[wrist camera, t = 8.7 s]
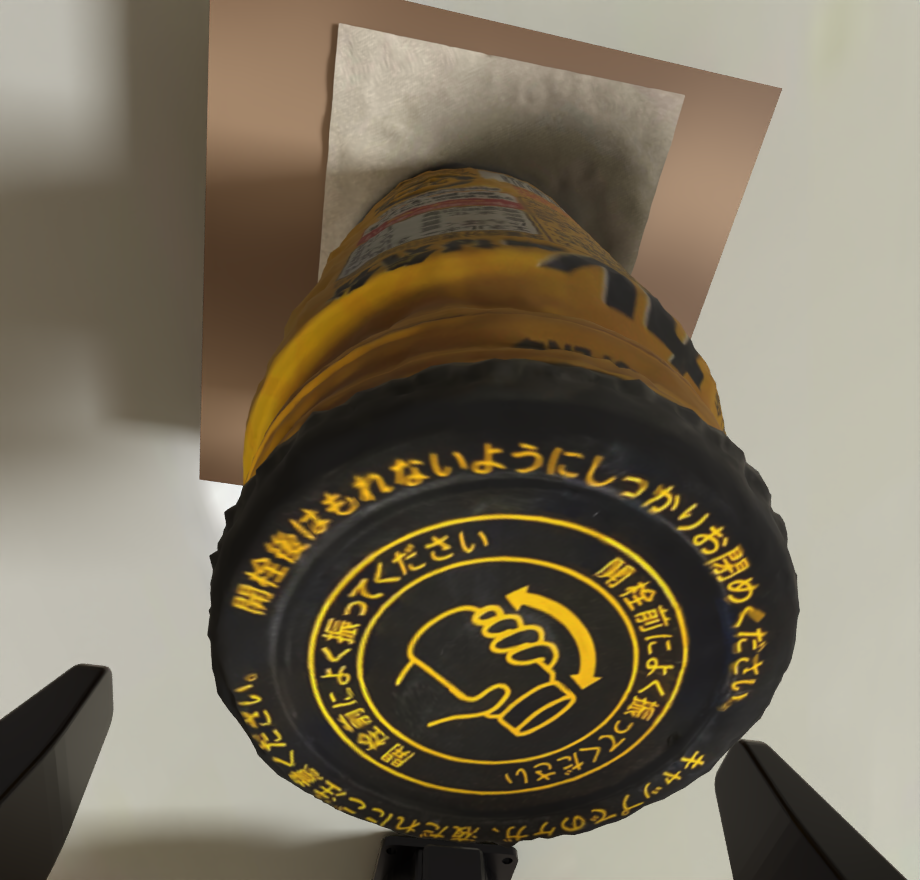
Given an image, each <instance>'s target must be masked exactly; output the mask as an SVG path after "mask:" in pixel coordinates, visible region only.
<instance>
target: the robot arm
mask: <svg viewBox="0 0 920 880" xmlns="http://www.w3.org/2000/svg"><path fill="white" fill-rule="evenodd" d="M112 716H113V686H112V672H111V670H110V668H109V667H106V666H100V665H92V664H78V665H75V666H73V667H72V668H70V669H69V670H68V671H66V672H65V673H64V674H62V675H61V676H59V677H58V678H57V679H55V680H54V681H53V682H51V683H50V684H48V685H47V686H46V687H44V688H43V689H42V690H40V691H39V692H38V693H36V694H35V695H33V696H32V697H31V698H29V699H28V700H27V701H25V702H24V703H23V704H21V705H20V706H18V707H17V708H16V709H14V710H13V711H12V712H10V713H9V714H7V715H6V716H5V717H3V718H2V719H1V720H0V880H46V879H47V878H48V876H49V874H50V872H51V870H52V868H53V866H54V864H55V862H56V860H57V858H58V855H59V853H60V851H61V849H62V847H63V845H64V843H65V840H66V838H67V835H68V833H69V831H70V828H71V826H72V823H73V821H74V818H75V815H76V813H77V810H78V808H79V805H80V802H81V800H82V797H83V795H84V792H85V790H86V787H87V784H88V782H89V779H90V777H91V774H92V771H93V769H94V766H95V764H96V761H97V758H98V756H99V753H100V751H101V748H102V746H103V743H104V740H105V738H106V735H107V733H108V730H109V727H110V724H111V721H112ZM715 793H716V798H717V802H718V807H719V812H720V817H721V822H722V826H723V831H724V836H725V841H726V846H727V850H728V855H729V860H730V865H731V870H732V874H733V879H734V880H907V879H906V878H905V877H904V876H903V875H902V874H901V873H900V872H899V871H898V870H897V869H896V868H895V867H894V866H893V865H892V864H891V863H889V862H888V861H887V860H886V859H885V858H884V857H883V856H882V855H881V854H880V853H879V852H878V851H877V850H876V849H875V848H874V847H873V846H872V845H871V844H870V843H869V842H868V841H867V840H866V839H865V838H864V837H863V836H862V835H861V834H859V833H858V832H857V831H856V830H855V829H854V828H853V827H852V826H851V825H850V824H849V823H848V822H847V821H846V820H845V819H844V818H843V817H842V816H841V815H840V814H839V813H838V812H837V811H836V810H835V809H834V808H833V807H832V806H831V805H830V804H828V803H827V802H826V801H825V800H824V799H823V798H822V797H821V796H820V795H819V794H818V793H817V792H816V791H815V790H814V789H813V788H812V787H811V786H810V785H809V784H808V783H807V782H806V781H805V780H804V779H803V778H802V777H801V776H800V775H799V774H797V773H796V772H795V771H794V770H793V769H792V768H791V767H790V766H789V765H788V764H787V763H786V762H785V761H784V760H783V759H782V758H781V757H780V756H779V755H778V754H777V753H776V752H775V751H774V750H773V749H772V748H771V747H769V746H768V745H767V744H765V743H764V742H761V741H754V740H746V739H739V740H738V741H737V742H736V743H735V744H734V745H733V746H732V747H731V748H730V749H729V751H728V753H727V755H726V756H725V758H724V760H723V762H722V764H721V765H720V767H719V769H718V771H717V773H716V777H715ZM517 862H518V856H517V850H516V849H515V848H514V847H509V848H505V847H503V846H500V845H491V844H479V843H466V844H464V843H456V842H451V841H445V840H434V839H422V838H411V837H400V836H388V837H385V838H384V839H383V840H382V842H381V846H380V850H379V854H378V858H377V863H376V867H375V871H374V875H373V879H372V880H511V878H512V875H513V873H514V870H515V868H516V865H517Z"/></svg>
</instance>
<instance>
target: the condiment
mask: <svg viewBox="0 0 920 880" xmlns="http://www.w3.org/2000/svg"><path fill="white" fill-rule="evenodd" d="M684 98H685V95H682V94H678V93H673V92H668V91H663V90H659V89H653V88H646V87H643V86H638V85H633V84H628V83H624V82H619V81H614V80H609V79H604V78H599V77H594V76H590V75H585V74H578V73H575V72H571V71H567V70H561V69H556V68H550V67H545V66H541V65H536V64H532V63H527V62H522V61H517V60H513V59H508V58H503V57H498V56H493V55H487V54H483V53H480V52H474V51H470V50H465V49H461V48H456V47H449V46H446V45H442V44H437V43H432V42H427V41H422V40H417V39H412V38H407V37H402V36H397V35H394V34H389V33H385V32H380V31H375V30H370V29H366V28H361V27H355V26H351V25H346V24H342V23H339V28H338V40H337V52H336V61H335V73H334V86H333V101H332V112H331V121H330V131H329V152H328V162H327V171H326V181H325V196H324V207H323V221H322V236H321V249H320V261H319V273H318V283H317V285H316V286H315V287H314V288H313V289H312V290H311V291H310V293H309V294H308V295H307V296H306V297H305V298H304V300H303V301H302V302H301V303H300V304H299V305H298V306H297V307H296V308H295V309H294V310H293V311H292V313H291V315H290V318H289V320H288V322H287V324H286V326H285V328H284V339H283V341H282V342H281V343H280V345H279V346H278V348H277V349H276V351H275V352H274V354H273V355H272V357H271V358H270V360H269V362H268V364H267V371H266V373H265V376H264V378H263V379H262V381H261V382H260V383H259V384H258V387H257V391H256V393H255V395H254V397H253V400H252V402H251V406H250V409H249V413H248V418H247V421H246V430H245V439H244V450H243V488H242V492H241V495H240V497H239V500H238V502H237V503H236V505H234V506H233V507H231V508H229V509H228V510H226V511H225V512H224V514H225V520H226V527H225V529H224V531H223V535H222V537H221V539H220V541H219V542H218V547H217V549H218V551H216V552H214V553H213V554H211V555H210V556H209V557H210V560H211V564H212V568H213V574H212V579H211V583H210V585H211V592H210V595H211V607H210V609H209V613H210V618H209V626H208V634H207V635H208V637H209V639H210V641H211V658H212V669H213V673H214V676H215V682H216V687H217V693H218V695H219V696H220V698H221V699H222V701H223V702H224V704H225V705H226V707H227V708H228V710H229V711H230V712H231V713H232V714H233V716H234V717H235V718H236V719H237V721H238V722H239V723H240V725H241V726H242V728H243V729H244V731H245V732H246V733H247V735H248V736H249V738H250V740H251V742H252V743H253V745H254V747H255V749H256V751H257V754H258V755H259V756H260V757H261V759H262V760H263V761H264V762H265V763H266V764H267V765H268V766H269V767H270V768H272V769H273V770H274V771H275V772H276V773H277V774H278V775H279V776H281V777H282V778H284V779H286V780H287V781H289V782H291V783H292V784H294V785H296V786H297V787H299V788H300V789H302V790H303V791H305V792H307V793H309V794H311V795H313V796H314V797H315V798H317V799H320V800H322V801H323V802H324V803H327V804H329V805H330V806H332V807H334V808H335V809H337V810H340V811H342V812H344V813H346V814H348V815H351V816H354V817H356V818H359V819H362V820H365V821H368V822H372V823H375V824H377V825H379V826H382V827H385V828H388V829H391V830H393V831H395V832H397V833H399V834H406V835H409V836H412V837H415V838H422V839H440V840H445V841H451V842H456V843H464V844H466V843H479V842H486V841H491V842H493V843H496V844H498V845H500V846H503V847H505V848H509V847H511V846H513V845H515V844H516V843H518V842H519V841H523V840H533V839H536V838H539V837H540V838H546V839H548V838H554V837H556V836H560V835H576V834H580V833H583V832H588V831H591V830H593V829H595V828H598V827H601V826H603V825H606V824H610V823H613V822H617V821H619V820H621V819H624V818H626V817H628V816H630V815H631V814H633V813H635V812H636V811H638V810H639V809H641V808H642V807H644V806H646V805H649V804H651V803H654V802H657V801H660V800H663V799H665V798H667V797H668V796H670V795H672V794H673V793H675V792H677V791H679V790H681V789H683V788H685V787H686V786H688V785H689V784H690V783H692V782H693V781H695V780H696V779H697V778H699V777H700V776H702V775H704V774H705V773H707V772H709V771H710V770H711V769H712V768H713V766H714V765H715V764H716V763H717V762H718V761H719V759H720V758H721V757H722V756H723V755H724V754H725V753H726V752H727V751H728V750H729V749H730V748H731V747H732V746H733V745H734V744H735V743H736V742H737V741H738V740H739V739H740V738H741V737H742V736H743V735H744V734H745V733H746V732H747V731H748V730H749V729H750V728H751V727H752V726H753V725H754V724H755V723H756V722H757V721H758V720H759V719H760V718H761V717H762V715H763V713H764V711H765V709H766V708H767V707H768V705H769V704H770V702H771V699H772V697H773V695H774V692H775V690H776V689H777V687H778V685H779V683H780V682H781V680H782V677H783V674H784V673H785V671H786V670H787V668H788V666H789V664H790V661H791V659H792V654H793V650H794V646H795V640H796V628H797V619H798V615H799V612H800V609H799V600H798V589H797V574H796V573H795V570H794V567H793V563H792V560H791V557H790V554H789V551H788V548H787V540H788V539H787V531H786V527H785V523H784V521H783V519H782V518H781V516H780V515H779V514H777V513H775V512H773V510H772V508H771V494H770V493H769V490H768V487H767V486H766V484H765V482H764V481H763V479H762V477H761V476H760V474H759V472H758V471H757V470H755V469H754V468H753V467H751V466H750V465H749V464H748V463H747V462H746V460H745V456H744V452H743V451H742V450H741V449H740V448H738V447H737V446H736V445H735V444H734V443H733V442H732V441H731V440H730V439H729V438H728V437H727V436H726V433H725V429H724V420H723V417H722V411H721V405H720V400H719V395H718V392H717V389H716V383H715V381H714V379H713V378H712V376H711V374H710V370H709V368H708V366H707V364H706V362H705V361H704V360H703V358H702V357H701V356H700V354H699V353H698V352H697V351H696V350H695V349H694V346H693V344H692V341H691V339H690V338H689V337H688V335H687V334H686V332H685V331H684V329H683V327H682V325H681V324H680V322H679V321H677V320H676V319H675V318H674V317H673V316H672V315H671V314H670V313H668V312H667V311H666V310H665V309H664V308H663V306H662V305H661V303H660V302H659V300H658V299H657V298H655V297H654V296H652V294H651V293H650V292H649V291H648V290H647V289H646V288H644V287H643V286H642V285H641V284H640V283H639V282H638V281H636V280H635V278H634V277H632V276H631V273H632V271H633V268H634V265H635V262H636V259H637V256H638V252H639V247H640V243H641V240H642V236H643V233H644V229H645V226H646V223H647V221H648V218H649V213H650V209H651V205H652V202H653V199H654V196H655V193H656V189H657V186H658V182H659V179H660V176H661V173H662V170H663V167H664V164H665V161H666V158H667V155H668V152H669V149H670V147H671V144H672V140H673V136H674V132H675V128H676V125H677V122H678V118H679V115H680V111H681V108H682V105H683V101H684Z"/></svg>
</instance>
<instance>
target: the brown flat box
mask: <svg viewBox="0 0 920 880" xmlns="http://www.w3.org/2000/svg"><path fill="white" fill-rule="evenodd" d="M339 23H342V24H346V25H351V26H355V27H361V28H366V29H370V30H375V31H380V32H385V33H389V34H394V35H397V36H402V37H407V38H412V39H417V40H422V41H427V42H432V43H437V44H442V45H446V46H449V47H456V48H461V49H465V50H470V51H474V52H480V53H483V54H487V55H493V56H498V57H503V58H508V59H513V60H517V61H522V62H527V63H532V64H536V65H541V66H545V67H550V68H556V69H561V70H567V71H571V72H575V73H578V74H585V75H590V76H594V77H599V78H604V79H609V80H614V81H619V82H624V83H628V84H633V85H638V86H643V87H646V88H653V89H659V90H663V91H668V92H673V93H678V94H682V95H685V98H684V101H683V105H682V108H681V111H680V115H679V118H678V122H677V125H676V128H675V132H674V136H673V140H672V144H671V147H670V149H669V152H668V155H667V158H666V161H665V164H664V167H663V170H662V173H661V176H660V179H659V182H658V186H657V189H656V193H655V196H654V199H653V202H652V205H651V209H650V213H649V218H648V221H647V223H646V226H645V229H644V233H643V236H642V240H641V243H640V247H639V252H638V256H637V259H636V262H635V265H634V268H633V271H632V273H631V276H632V277H634V278H635V280H636V281H638V282H639V283H640V284H641V285H642V286H643V287H644V288H646V289H647V290H648V291H649V292H650V293H651V294H652V296H654V297H655V298H657V299H658V300H659V302H660V303H661V305H662V306H663V308H664V309H665V310H666V311H667V312H668V313H670V314H671V315H672V316H673V317H674V318H675V319H676V320H677V321H679V322H680V324H681V325H682V327H683V329H684V331H685V332H686V334H687V335H688V337H689V338H690V339H691V337H692V334H693V331H694V328H695V326H696V323H697V320H698V318H699V315H700V312H701V309H702V307H703V304H704V301H705V298H706V296H707V293H708V290H709V287H710V285H711V282H712V279H713V277H714V274H715V271H716V268H717V266H718V263H719V260H720V257H721V255H722V252H723V249H724V246H725V244H726V241H727V238H728V235H729V233H730V230H731V227H732V225H733V222H734V219H735V216H736V214H737V211H738V208H739V205H740V203H741V200H742V197H743V194H744V192H745V189H746V186H747V184H748V181H749V178H750V175H751V173H752V170H753V167H754V164H755V162H756V159H757V156H758V153H759V151H760V148H761V145H762V143H763V140H764V137H765V134H766V132H767V129H768V126H769V123H770V121H771V118H772V115H773V112H774V110H775V107H776V104H777V102H778V99H779V96H780V93H781V91H782V88H777V87H773V86H769V85H764V84H760V83H756V82H752V81H747V80H743V79H739V78H734V77H730V76H726V75H722V74H717V73H713V72H709V71H705V70H700V69H696V68H692V67H687V66H683V65H679V64H675V63H670V62H666V61H662V60H657V59H653V58H649V57H645V56H640V55H636V54H632V53H627V52H623V51H619V50H615V49H610V48H606V47H602V46H597V45H593V44H589V43H585V42H580V41H576V40H572V39H567V38H563V37H559V36H555V35H550V34H546V33H542V32H538V31H533V30H529V29H525V28H520V27H516V26H512V25H508V24H503V23H499V22H495V21H490V20H486V19H482V18H478V17H473V16H469V15H465V14H460V13H456V12H452V11H448V10H443V9H439V8H435V7H430V6H426V5H422V4H418V3H413V2H409V1H405V0H210V13H209V59H208V106H207V153H206V199H205V246H204V292H203V339H202V386H201V432H200V480H207V481H214V482H221V483H228V484H235V485H242V486H243V450H244V439H245V430H246V421H247V418H248V413H249V409H250V406H251V402H252V400H253V397H254V395H255V393H256V391H257V387H258V384H259V383H260V382H261V381H262V379H263V378H264V376H265V373H266V371H267V364H268V362H269V360H270V358H271V357H272V355H273V354H274V352H275V351H276V349H277V348H278V346H279V345H280V343H281V342H282V341H283V339H284V328H285V326H286V324H287V322H288V320H289V318H290V315H291V313H292V311H293V310H294V309H295V308H296V307H297V306H298V305H299V304H300V303H301V302H302V301H303V300H304V298H305V297H306V296H307V295H308V294H309V293H310V291H311V290H312V289H313V288H314V287H315V286H316V285H317V283H318V273H319V261H320V249H321V236H322V221H323V207H324V196H325V181H326V171H327V162H328V152H329V131H330V121H331V112H332V101H333V86H334V73H335V61H336V52H337V40H338V28H339Z"/></svg>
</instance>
